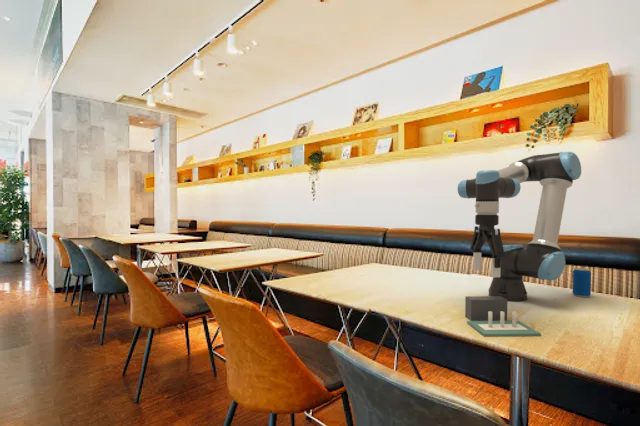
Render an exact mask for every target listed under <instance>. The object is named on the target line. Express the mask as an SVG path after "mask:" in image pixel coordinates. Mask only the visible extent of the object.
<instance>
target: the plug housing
mask: <svg viewBox="0 0 640 426" xmlns="http://www.w3.org/2000/svg"><path fill="white" fill-rule="evenodd" d="M464 299H465V301H464V303H465V306H464V307H465V309H464V311H465V312H464V313H465V314H464V315H465V316H464V317H465V318H467V319H468V321H488V312H489V311H491V312H492V321H500V311H503V312H505V315H504V321H508V301H507V299H505V298H503V297H501V296H489V295H487V296H486V295H484V296H483V295H481V296H479V295H478V296H477V295H474V296H473V295H472V296H470V295H467V296H465V298H464Z"/></svg>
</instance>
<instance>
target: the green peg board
mask: <svg viewBox="0 0 640 426" xmlns="http://www.w3.org/2000/svg"><path fill="white" fill-rule="evenodd" d="M511 314H512V315H511V317H512V318H511V320H507V321H504V315H505V312H503V311H500V321H492V312H491V311H489V312H488V321H471V320H467V321H466V324H467V325H469V326H470V327H471V328H473V330H475V331H476V332H477V333H479V334H480V335H481V336H482V337H542V333H541V332H540V331H538V330H536V329H534V328H533V327H530V326H529V325H526V323H524V322H523V321H522V322H521V321H520V320H517V318H518V317H517V311H515V310H514V311H513V310H512V312H511Z"/></svg>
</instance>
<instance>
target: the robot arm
mask: <svg viewBox="0 0 640 426" xmlns="http://www.w3.org/2000/svg"><path fill="white" fill-rule="evenodd" d="M581 175H582V165H581V161H580V159H579V157H578V155H577V154H576V153H575V152H572V151H559V152H554V153H553V152H552V153H547V154H545V153H544V154H536V155H531V156H528V157H525V158H522V159H519V160H517V161H514V162H512V163H511V164H509V166H506V167H504V168H501V169H497V170H496V169H487V170H485V169H484V170H479V171H477V172H476V175H475V178H473V179H472V178H471V179H469V178H468V179H463V180H461V181H459V183H458V185H457V193H458V195H459V197H460V198H463V199H475V204H474V207H475V213H477V214H476V215H475V218H474V224H475V225H477V226H474V230H473V231H474V232H473V235H472V240H471V244H470V248H469V249H470V250H472V253H473V255H472V256H473V258H472V259H473V260H472V262H473V263H472V267H473V268H472V270H473V271H482V252H483V251H482V248H483V246H484V244H485V242H486V243H487V244H488V247H489V250H490V253H491V255H492V256H491V262H490V263H491V271H490V272H491V274H490V276H491V277H490V278H492V280H491V283H490V286H489V288H488V296H501V297H503V298H505V299H507V302H508V301H510V302H523V301H526V300H528V292H527V289H526V287H525V282H524V277H528V278H533V279H540V280H542V281H544V280H545V281H556V280H558V278H560V276H562V274H563V272H564V270H565V268H566V256H565V255H564V253H562V252H561V250H562V249H561V247H560V246H559V245H558V242H559V235H560V230H561V224H562V220H563V219H562V218H563V213H564V209H565V208H564V207H565V201H566V197H567V191H568V189H569V188H571V187H572V186H573V181H576V180H578V179H580V177H581ZM528 182H539V185H541V186H542V190H541V193H540V194H541V196H540V198H539V206H538V210H537V215H536V221H535V227H534V232H533V235H532V236H533V237H532V240H531V241H530V242H527V245H526V248H524V244H503V241H502V237H501V236H502V235H501V229H500V228H495V226H498V225H499V217H500V216H499V215H498V214H499V212H500V209H499V208H500V201H499V200H500V198H501V199H512V198H514V197H516V196H518V194H519V193H520V191H521V187H522V186H521V184H522V183H528Z"/></svg>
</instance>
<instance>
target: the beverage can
mask: <svg viewBox="0 0 640 426" xmlns="http://www.w3.org/2000/svg"><path fill="white" fill-rule="evenodd" d="M573 269H574V270H572V294H573V295H574V296H575V297H578V296H579V297H578V298H589V297H590V296H591V291H592V287H591V286H592V285H591V284H592V283H591V282H592V273H591V270H590V269H589V268H583V267H581V268H580V267H575V268H573Z"/></svg>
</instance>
